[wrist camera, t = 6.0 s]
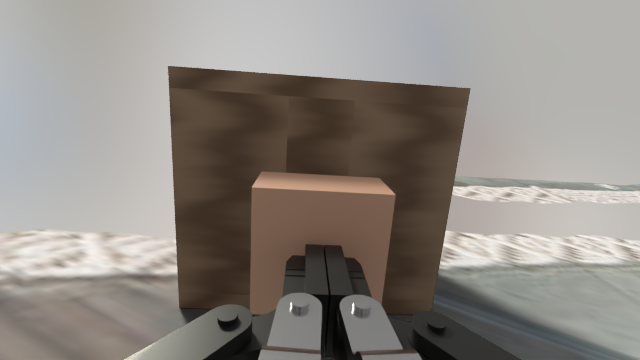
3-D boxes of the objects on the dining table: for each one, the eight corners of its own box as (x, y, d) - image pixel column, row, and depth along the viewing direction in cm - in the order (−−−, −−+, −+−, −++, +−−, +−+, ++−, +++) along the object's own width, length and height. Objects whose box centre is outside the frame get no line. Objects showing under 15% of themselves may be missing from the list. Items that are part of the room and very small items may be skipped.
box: (179, 307, 22) (168, 66, 18) (218, 244, 32) (216, 78, 28) (430, 315, 23) (470, 88, 19) (393, 251, 33) (414, 92, 29)
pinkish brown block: (249, 314, 14) (251, 187, 13) (270, 233, 23) (273, 152, 22) (379, 318, 15) (395, 194, 13) (351, 237, 23) (359, 157, 22)
